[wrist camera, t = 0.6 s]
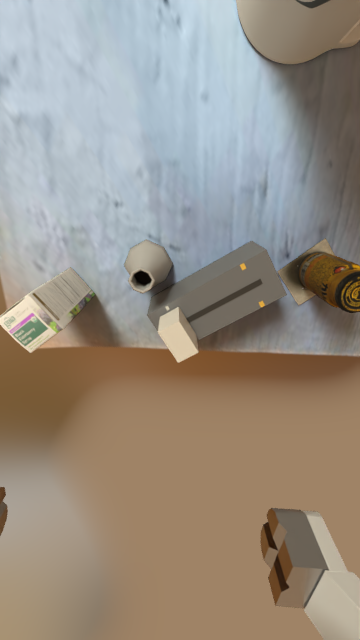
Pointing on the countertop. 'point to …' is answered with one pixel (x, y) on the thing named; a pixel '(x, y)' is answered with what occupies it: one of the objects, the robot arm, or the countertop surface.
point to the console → (222, 291)
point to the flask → (147, 265)
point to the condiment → (323, 278)
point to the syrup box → (46, 310)
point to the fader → (178, 334)
